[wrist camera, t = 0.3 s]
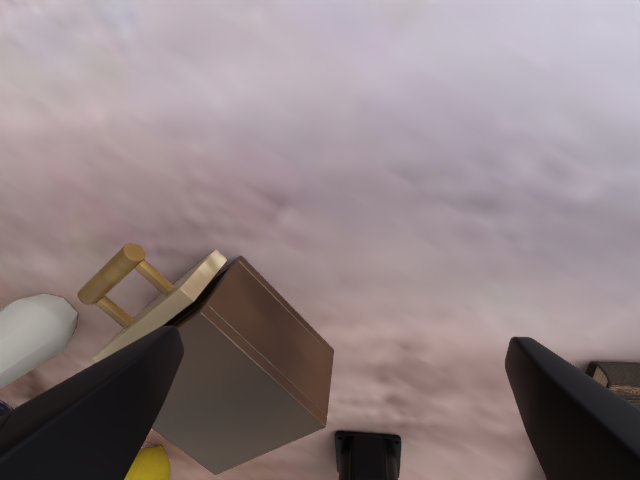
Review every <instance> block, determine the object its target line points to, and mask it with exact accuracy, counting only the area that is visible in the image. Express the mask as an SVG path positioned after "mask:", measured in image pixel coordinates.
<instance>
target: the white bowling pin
mask: <svg viewBox="0 0 640 480" xmlns="http://www.w3.org/2000/svg"><path fill="white" fill-rule="evenodd" d="M77 315H78V313H77V312H76V311H75V310H74V308H73V307H72V306H71V305H70V304H69V303H68V302H67V301H66V300H65V299H64V298H62V297H57V296H53V295H49V294H40V295H36V296H31V297H26V298H22V299H19V300H16V301H14V302H12V303H10V304H8V305H6V306H4V307H3V308H2V309H0V389H2V388H4V387H5V386H7V385H8V384H10V383H12V382H13V381H15V380H17V379H18V378H20V377H21V376H23V375H25V374H26V373H28V372H29V371H31V370H33V369H34V368H36V367H38V366H39V365H41V364H42V363H44V362H46V361H47V360H49V359H50V358H52V357H54V356H55V355H57V354H59V353H60V352H62V351H63V350H64V349H65V347H66V346H67V344H68V342H69V340H70V338H71V336H72V334H73V332H74V330H75V328H76V324H77Z"/></svg>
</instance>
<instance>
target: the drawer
mask: <svg viewBox="0 0 640 480" xmlns="http://www.w3.org/2000/svg"><path fill="white" fill-rule="evenodd" d="M144 258H145V251H144V250H143V248H142V247H140V246H139V245H137V244H134V243H129V244H126V245H125V246H124V247H123V248H122V249H121V250H120V251H119V252H118V253H117V254H116V255H115V256H114V257H113V258H112V259H111V260H110V261H109V262H108V263H107V264H106V265H105V266H104V267H103V268H102V269H101V270H100V271H99V272H97V273H96V274H95V275H94V276H93V277H92V278H91V279H90V280H89V281H88V282H87V283H86V284H85V285H84V286H83V287H82V288H81V289H80V290H79V292H78V298H79V300H80V301H81V302H82V303H84V304H88V305H92V304H95V303H96V305H97V306H98V307H100V308H101V309H102V310H103V311H104V312H106V313H107V314H108V315H109V316H111V317H112V318H113V319H114V320H115V321H117V322H118V323H119V324H120V325H121V326H123V327H124V328H123V329H122V330H120V331H119V332H118V333H117V334H116V335H115V336H114V337H113V338H112V339H111V340H110V341H109V342H108V343H107V344H106V345H105V346H104V347H103V348H102V349H101V350H100V351H99V352H98V353H97V354H96V355H95V356H94V357H93V358H92V360H93V361H95V362H96V363H97V362H99V361H100V360H102V359H104V358H106V357H108V356H109V355H111V354H113V353H115V352H116V351H118V350H120V349H122V348H124V347H125V346H127V345H129V344H131V343H132V342H134V341H136V340H138V339H139V338H141V337H143V336H145V335H147V334H148V333H150V332H152V331H154V330H155V329H157V328H159V327H161V326H163V325H164V324H165V323H167V322H168V321H169V320H171V319H172V318H173V317H174V316H176V315H177V314H178V313H180V312H181V311H182V310H184V309H185V308H186V307H188V306H189V305H190V304H191V303H193V302H194V301H195V300H196V299H197V297H198V296H199V295H200V294H201V292H202V291H203V290H204V289H205V287H206V286H207V285H208V284H209V282H210V281H211V280H212V279H213V277H214V276H215V275H216V274H217V272H218V271H219V270H220V269H221V267H222V266H223V265H224V264H225V262H226V261H227V259H226V258H225V257H224V256H223V255H222V254H221V253H220V252H219V251H218V250H217V249H215V250H214V251H213V252H212V253H210V254H209V255H208V256H207V257H206V258H204V259H203V260H202V261H201V262H199V263H198V264H197V265H196V266H195V267H193V268H192V269H191V270H190V271H189V272H187V273H186V274H185V275H184V276H182V277H181V278H180V279H179V280H178V281H176V282H175V283H174V284H173V285H172V284H171V283H170V282H169V281H168V280H167V279H165V278H164V277H163V276H162V275H161V274H160V273H159V272H158V271H157V270H156V269H154V268H153V267H152V266H151V265H150V264H149V263H148V262H147V261H146V260H144ZM142 260H143V261H142ZM134 268H135V269H136V270H137V271H138V272H139V273H141V274H142V275H143V276H144V277H145V278H146V279H147V280H148V281H149V282H151V283H152V284H153V285H154V286H155V287H156V288H157V289H158V290H160V291H161V292H162V294H161V295H159V296H158V297H157V298H156V299H155V300H153V301H152V302H151V303H150V304H149V305H147V306H146V307H145V308H144V309H142V310H141V311H140V312H139V313H138V314H137V315H136V316H135V317H134V318H131V317H130V316H129V315H128V314H127V313H125V312H124V311H123V310H122V309H121V308H119V307H118V306H117V305H116V304H115V303H114V302H112V301H111V300H110V299H109V298H108V297H106V296H105V295H106V294H107V293H108V292H109V291H110V290H111V289H112V288H113V287H114V286H115V285H116V284H118V283H119V282H120V281H121V280H122V279H123V278H124V277H125V276H126V275H127V274H128V273H129V272H131V271H132V270H133V269H134ZM103 296H104V297H103ZM205 300H206V299H205ZM205 300H203V301H202V302H201V303H199V304H198V305H197V306H195V307H194V308H193V309H191V310H190V311H189V312H187V313H186V314H185V315H183V316H182V317H181V318H179V319H178V320H177V321H175V322H174V323H173V324H172V325H170V326H177V325H178V324H179V323H181V322H182V321H183V320H185V319H186V318H188V317H189V316H190V315H192V314H193V313H194V312H196V311H197V310H198V309H199V308H200V306H201V305H202V304H203V302H204V301H205Z"/></svg>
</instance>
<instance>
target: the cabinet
mask: <svg viewBox="0 0 640 480" xmlns="http://www.w3.org/2000/svg"><path fill="white" fill-rule="evenodd" d="M205 299H206V300H205ZM203 300H205V301H204V302H203V304H202V305H201V306H200V308H199V309H198V310H197V311H196V312H194V313H193V314H192V315H190V316H189V317H188V318H186V319H185V320H183V321H182V322H181V323H179V324H178V325H177V326H175V327H177V329H178V330H179V333H180V337H181V340H182V343H183V346H184V355H183V358H182V361H181V363H180V366H179V368H178V370H177V373H176V375H175V378H174V380H173V383H172V385H171V387H170V390H169V392H168V395H167V397H166V399H165V402H164V404H163V406H162V408H161V410H160V412H159V414H158V416H157V418H156V420H155V422H154V424H153V426H152V428H153V429H154V430H155V431H157V432H158V433H159V434H161V435H162V436H163V437H165V438H166V439H167V440H169V441H170V442H171V443H173V444H174V445H175V446H177V447H178V448H179V449H181V450H182V451H184V452H185V453H186V454H188V455H189V456H190V457H192V458H193V459H194V460H196V461H197V462H198V463H200V464H201V465H202V466H204V467H205V468H206V469H208V470H209V471H210V472H212V473H213V474H214V475H216V474H219V473H221V472H223V471H226V470H228V469H230V468H233V467H235V466H237V465H239V464H242V463H244V462H246V461H249V460H251V459H253V458H256V457H258V456H260V455H262V454H265V453H267V452H269V451H272V450H274V449H276V448H279V447H281V446H283V445H285V444H288V443H290V442H292V441H295V440H297V439H299V438H302V437H304V436H306V435H308V434H311V433H313V432H315V431H318V430H320V429H322V428H325V427H326V421H327V412H328V403H329V393H330V384H331V374H332V365H333V354H334V350H333V349H332V348H331V347H330V346H329V344H328V343H327V342H326V341H325V340H324V339H323V338H322V337H321V336H320V335H319V334H318V333H317V332H316V331H315V330H314V329H313V328H312V327H311V326H310V325H309V324H308V323H307V322H306V321H305V320H304V319H303V318H302V317H301V316H300V315H299V314H298V313H297V312H296V311H295V310H294V309H293V308H292V307H291V306H290V305H289V304H288V303H287V302H286V301H285V300H284V299H283V297H282V296H281V295H280V294H279V293H278V292H277V291H276V290H275V289H274V288H273V287H272V286H271V285H270V284H269V283H268V282H267V281H266V280H265V279H264V278H263V277H262V276H261V275H260V274H259V273H258V272H257V271H256V270H255V269H254V268H253V267H252V266H251V265H250V264H249V263H248V262H247V261H246V260H245V259H244V258H243V257H242V256H240V257H239V258H238V259H236V260H235V261H234V262H232V263H231V264H230V265H229V266H227V267H226V268H225V269H223V270H222V271H221V272H220V273H218V274H217V275H216V276H214V277H213V279H212V280H211V281H210V282H209V284H208V285H207V286H206V287H205V289H204V290H203V291H202V292H201V294H200V295H199V296H198V297H197V299H196V300H195V301H194V302H193V303H191V304H190V305H189V306H188V307H186V308H185V309H184V310H182V311H181V312H180V313H178V314H177V315H176V316H174V317H173V318H172V319H171V320H169V321H168V322H167V323H165V324H164V325H163V326H170V325H172V324H173V323H174V322H175V321H177V320H178V319H179V318H181V317H182V316H183V315H185V314H186V313H187V312H189V311H190V310H191V309H193V308H194V307H195V306H197V305H198V304H199V303H201V302H202V301H203Z"/></svg>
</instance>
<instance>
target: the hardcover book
mask: <svg viewBox="0 0 640 480" xmlns="http://www.w3.org/2000/svg"><path fill="white" fill-rule="evenodd" d="M587 375H588V376H590V377H591V378H593V379H594V380H596V381H597V382H599V383H600V384H602V385H603V386H605V387H606V388H608V389H610V390H611V391H613V392H614V393H616V394H617V395H619V396H620V397H622V398H623V399H625V400H626V401H628V402H629V403H631V404H632V405H634V406H635V407H637V408H638V409H640V364H635V363H606V362H592V363H590V366H589V368H588V371H587ZM546 480H547V478H546Z"/></svg>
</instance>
